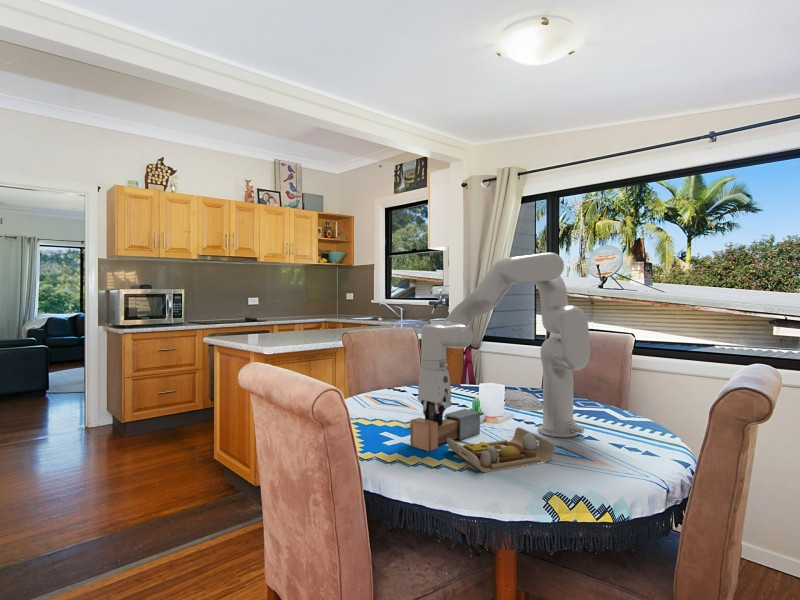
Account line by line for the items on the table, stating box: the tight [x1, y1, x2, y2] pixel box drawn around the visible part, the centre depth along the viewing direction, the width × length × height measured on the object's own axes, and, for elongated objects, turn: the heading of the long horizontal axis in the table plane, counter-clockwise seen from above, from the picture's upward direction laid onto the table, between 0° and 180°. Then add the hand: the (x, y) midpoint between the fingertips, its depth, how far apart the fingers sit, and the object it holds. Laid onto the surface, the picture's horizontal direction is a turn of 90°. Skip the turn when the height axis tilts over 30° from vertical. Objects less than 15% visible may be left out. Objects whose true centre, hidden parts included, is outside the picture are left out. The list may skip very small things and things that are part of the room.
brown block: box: [410, 417, 439, 452], centre depth 143 cm, size 8×4×8 cm, turn 43°
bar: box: [429, 403, 458, 445], centre depth 148 cm, size 4×16×12 cm, turn 133°
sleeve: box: [444, 408, 481, 441], centre depth 155 cm, size 6×10×7 cm, turn 133°
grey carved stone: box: [504, 389, 543, 412], centre depth 196 cm, size 16×25×7 cm, turn 37°
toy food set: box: [446, 426, 556, 474], centre depth 135 cm, size 25×18×8 cm
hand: (433, 423), depth 145 cm, fingers closed on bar, 3 cm apart
